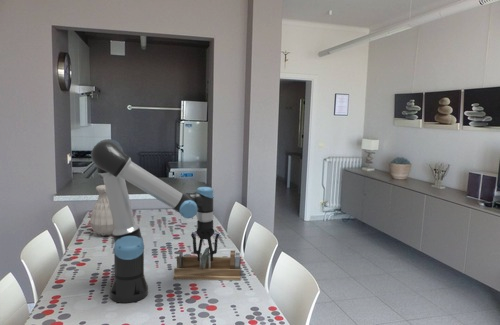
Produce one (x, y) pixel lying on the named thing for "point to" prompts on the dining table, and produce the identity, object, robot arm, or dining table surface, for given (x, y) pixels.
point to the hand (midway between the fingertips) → (205, 267)
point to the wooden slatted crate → (218, 271)
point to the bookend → (181, 259)
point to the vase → (102, 214)
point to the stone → (205, 257)
